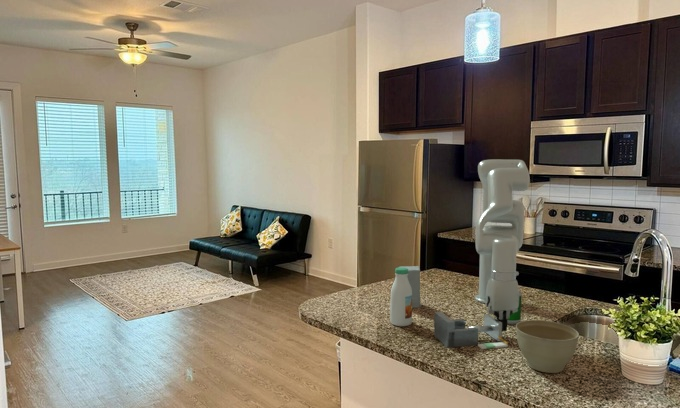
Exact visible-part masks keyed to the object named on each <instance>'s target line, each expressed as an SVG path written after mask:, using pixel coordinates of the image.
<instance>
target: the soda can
mask: <svg viewBox="0 0 680 408" xmlns="http://www.w3.org/2000/svg"><path fill="white" fill-rule="evenodd" d="M522 295H523V294H522V292H521V290H519V306H518V311H517V312H515V313H512V314H511V315H510V317H509V319H507V325H516V324H517V323H519V322H521V321H522V319H521V318H522Z"/></svg>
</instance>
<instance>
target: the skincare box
mask: <svg viewBox="0 0 680 408" xmlns="http://www.w3.org/2000/svg"><path fill="white" fill-rule="evenodd" d="M399 267H403V268H407V269H408V275H407V277H408V281H409V284H410V286H411V289H412V309H415V308H416V309H417V308H419V309H420V308H421V269H420V266H419V265H415V266H414V265H412V266H409V265H408V266H407V265H406V266H398V268H399Z"/></svg>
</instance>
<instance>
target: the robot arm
mask: <svg viewBox="0 0 680 408" xmlns="http://www.w3.org/2000/svg"><path fill="white" fill-rule="evenodd" d="M477 173H478V178H479V179H480V182H481V186H482V190H483V192H482V193H483V194H482V198H483V199H482V213H481V215H480V216H479V217H478V220H477V221H476V224H475V233H474V234H475V238H474V239H475V243H474V244H475V250H476V252H477V254H478V255H479V271H478V272H479V274H478V275H479V276H478V277H479V278H478V293H477V294H475V295H474V300H475V301H477V302H479V303H483V304H485V305H484V306H485V307H486V308H487V309H486V314H489V315H493V316H495V317H494V318H496V319H497V320H498V321H500V322H502V332H507V331H508V330H507V329H508V324H507V319H509V317H510V315H511V314H512V313H515V312H517V311H518V306H519V291H520V289H519V283H518V280H517V279H516V278H517V276H519V274H520V273H519V271H517V254H518V253H519V251H520V249H521V247H522V246H523V242H524V229H525V207H524V204H523V202H521V200H518V199H513V198H514V197H513V191H514V192H524V191H527V190H528V189H529V187H530V183H531V179H530V178H531V177H530V172H529V169H528V167H527V165H526V162H525V161H524V160H523V159H503V158H502V159H494V158H493V159H483V160H481V161H480V162H478V165H477ZM487 223H491V224H487ZM492 223H495V225H494V224H492ZM497 223H498V224H497ZM496 224H497V225H496ZM500 224H511V225H500Z"/></svg>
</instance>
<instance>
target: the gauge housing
mask: <svg viewBox="0 0 680 408" xmlns="http://www.w3.org/2000/svg"><path fill="white" fill-rule="evenodd" d="M433 319H434V321H433V323H434V325H433V326H434V327H433V329H434V330H433V336H434V337H435V338H436V339H437V340H438V341H439V342H440V343H441V344H443V345H444V346H445V347H446V348H456V347H467V346H468V347H469V346H470V347H471V346H478V344H479V332H478V329H477V328H468V327H467V328H466V319H464V318H460V319H459V318H458V319H451V318H450V317H449V316H448V315H446V314H445V313H444V312H442V311H437V312H436V311H435V312H434V318H433Z"/></svg>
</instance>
